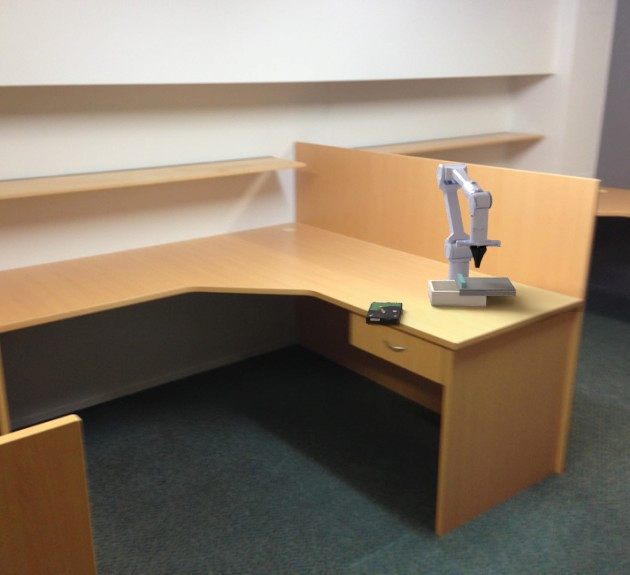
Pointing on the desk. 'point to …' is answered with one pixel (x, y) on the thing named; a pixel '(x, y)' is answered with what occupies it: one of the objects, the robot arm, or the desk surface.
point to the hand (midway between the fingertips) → (477, 267)
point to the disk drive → (384, 313)
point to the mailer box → (451, 295)
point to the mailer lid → (484, 286)
